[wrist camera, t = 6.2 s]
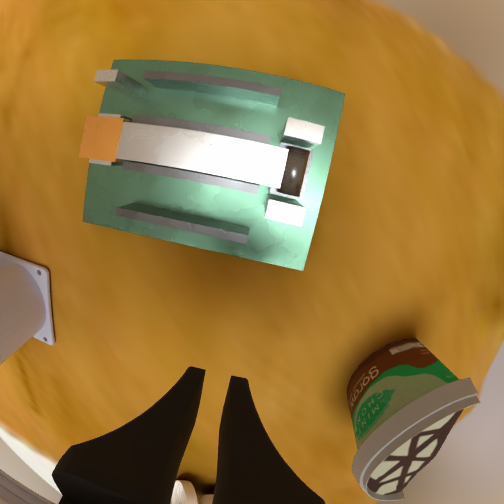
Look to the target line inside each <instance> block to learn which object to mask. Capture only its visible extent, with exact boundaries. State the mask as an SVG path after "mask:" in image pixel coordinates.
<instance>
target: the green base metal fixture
mask: <svg viewBox="0 0 504 504" xmlns="http://www.w3.org/2000/svg"><path fill="white" fill-rule="evenodd" d="M94 82H96V83H99V84H101V85H103V86H105V87H106V89H105V93H104V96H103V100H102V104H101V108H100V113H98V116H100V117H115V118H125V119H128V120H130V123H140V124H149V125H158V126H166V127H173V128H180V129H187V130H194V131H200V132H206V133H212V134H218V135H223V136H229V137H234V138H239V139H244V140H249V141H254V142H258V143H263V144H268V145H272V146H276V147H281V148H285V149H286V147H287V146H295V147H299V148H303V149H306V150H309V151H310V154H309V159H308V163H307V167H306V172H305V176H304V180H303V184H302V189H301V193H300V197H295V196H291V195H287V194H283V193H279V192H276V191H277V188H275V187H271V186H266V185H262V184H257V183H253V182H248V181H243V180H239V179H234V178H229V177H224V176H219V175H214V174H209V173H203V172H198V171H193V170H187V169H181V168H176V167H170V166H164V165H158V164H151V163H145V162H138V161H131V160H124V159H122V162H111V161H104V160H96V159H89V163H90V165H89V171H88V178H87V186H86V194H85V203H84V214H83V222H87V223H91V224H96V225H100V226H104V227H109V228H113V229H118V230H122V231H126V232H131V233H135V234H139V235H144V236H148V237H153V238H157V239H162V240H166V241H170V242H175V243H179V244H184V245H188V246H193V247H197V248H202V249H206V250H211V251H215V252H220V253H224V254H229V255H233V256H238V257H242V258H247V259H251V260H256V261H260V262H265V263H270V264H274V265H279V266H283V267H288V268H293V269H297V270H302V271H303V269H304V265H305V262H306V258H307V254H308V251H309V247H310V243H311V240H312V236H313V232H314V228H315V224H316V220H317V217H318V213H319V209H320V205H321V201H322V197H323V192H324V188H325V184H326V180H327V176H328V171H329V167H330V163H331V158H332V154H333V149H334V145H335V140H336V136H337V131H338V126H339V121H340V117H341V112H342V107H343V102H344V96H345V94H344V93H341V92H338V91H335V90H331V89H328V88H324V87H321V86H317V85H314V84H310V83H306V82H302V81H298V80H294V79H290V78H285V77H281V76H276V75H271V74H266V73H261V72H256V71H250V70H244V69H238V68H232V67H225V66H217V65H209V64H200V63H190V62H178V61H161V60H114V61H113V65H112V68H111V70H97V73H96V76H95V80H94Z"/></svg>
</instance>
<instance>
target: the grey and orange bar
mask: <svg viewBox="0 0 504 504" xmlns="http://www.w3.org/2000/svg"><path fill="white" fill-rule="evenodd" d="M309 154H310V151H309V150H306V149H303V148H299V147H295V146H287V147H286V149H285V148H281V147H276V146H272V145H268V144H263V143H258V142H254V141H249V140H244V139H239V138H234V137H229V136H223V135H218V134H212V133H206V132H200V131H194V130H187V129H180V128H173V127H166V126H158V125H149V124H140V123H130V120H128V119H125V118H115V117H100V116H86V120H85V125H84V130H83V135H82V140H81V146H80V151H79V157H80V158H88V159H96V160H104V161H111V162H122V159H124V160H131V161H138V162H145V163H151V164H158V165H164V166H170V167H176V168H181V169H187V170H193V171H198V172H203V173H209V174H214V175H219V176H224V177H229V178H234V179H239V180H243V181H248V182H253V183H257V184H262V185H266V186H271V187H275V188H277V191H276V192H279V193H283V194H287V195H291V196H295V197H300V193H301V189H302V184H303V180H304V176H305V172H306V167H307V163H308V159H309Z"/></svg>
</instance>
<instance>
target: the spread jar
mask: <svg viewBox="0 0 504 504" xmlns="http://www.w3.org/2000/svg"><path fill="white" fill-rule="evenodd" d="M214 490H215V489H214ZM214 490H210V491H207V492H204V493H203V494H202V495H201V497H200V500H199V504H212V502H213V496H214ZM171 500H172V501H171V502H172V504H198V502H197V496H196V492H195V489H194V487H193V485H192V483H191V482H190V481H184V480H177V481H175V485H174V489H173V493H172V498H171Z"/></svg>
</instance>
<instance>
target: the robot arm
mask: <svg viewBox="0 0 504 504" xmlns="http://www.w3.org/2000/svg"><path fill="white" fill-rule="evenodd" d="M40 272H41V273H40ZM32 337H34V338H36V339H38V340H40V341H43V342H45V343H47V344H49V345H53V344H54V343H55V339H54V331H53V322H52V312H51V299H50V281H49V271H48V270H47V268H45V267H42V266H39V265H36V264H34V263H31V262H28V261H25V260H23V259H20V258H17V257H14V256H12V255H9V254H7V253H4V252H1V251H0V365H1V364H2V363H3V362H4V361H5V360H6V359H7V358H9V357H10V356H11V355H12V354H13V353H14V352H15V351H17V350H18V349H19V348H20V347H21V346H22V345H23V344H25V343H26V342H27V341H28V340H29V339H30V338H32ZM205 371H206V370H204V369H200V368H196V367H189V368H188V369H187V370H186V372H185V373H184V374H183V376H182V377H181V378H180V379H179V381H178V382H177V383H176V384H175V385H174V386H173V387H172V388H171V389H170V390H169V391H168V392H167V393H166V394H165V395H164V396H163V397H162V398H161V399H160V400H159V401H157V402H156V403H155V404H154V405H153V406H152V407H150V408H149V409H148V410H147V411H145V412H144V413H142V414H141V415H140V416H138V417H137V418H135V419H134V420H132V421H130V422H129V423H127V424H125V425H123V426H122V427H120V428H118V429H116V430H114V431H112V432H109V433H107V434H105V435H103V436H100V437H98V438H95V439H92V440H89V441H86V442H83V443H80V444H76V445H73V446H71V447H70V448H69V449H68V450H67V451H66V453H65V454H64V455H63V456H62V457H61V459H60V460H59V462H58V464H57V465H56V467H55V469H54V471H53V473H52V477H53V479H54V482H55V483H56V485H57V487H58V488H59V490H60V492H61V493H62V495H63V496H62V498H61V500H60V502H59V504H170V502H171V498H172V493H173V489H174V485H175V481H176V477H177V472H178V469H179V466H180V463H181V460H182V457H183V455H184V452H185V449H186V447H187V444H188V441H189V438H190V436H191V433H192V430H193V427H194V425H195V421H196V417H197V413H198V409H199V404H200V399H201V393H202V387H203V382H204V376H205ZM0 504H55V503H53V502H51V501H49V500H47V499H46V498H44V497H42V496H40V495H39V494H37V493H35V492H34V491H32V490H30V489H28V488H27V487H25V486H24V485H22V484H21V483H19V482H18V481H16V480H15V479H13V478H12V477H10V476H9V475H7V474H6V473H5V472H3V471H2V470H1V469H0ZM212 504H325V502H324V500H323V499H322V498H321V497H319V496H318V495H317V494H316V493H315V492H313V491H312V490H311V489H310V488H309V487H308V486H307V485H306V484H305V483H304V482H303V481H302V480H301V479H300V478H299V477H298V476H297V475H296V474H295V473H294V472H293V470H292V469H291V468H290V467H289V466H288V465H287V463H286V462H285V461H284V460H283V458H282V457H281V455H280V454H279V453H278V451H277V450H276V448H275V446H274V445H273V443H272V442H271V440H270V438H269V436H268V434H267V433H266V431H265V429H264V427H263V425H262V422H261V420H260V418H259V415H258V413H257V410H256V408H255V405H254V402H253V399H252V396H251V392H250V388H249V383H248V380H247V379H246V378H241V377H236V376H231V379H230V383H229V387H228V391H227V395H226V399H225V403H224V407H223V412H222V418H221V423H220V429H219V445H218V464H217V477H216V484H215V490H214V496H213V502H212Z"/></svg>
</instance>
